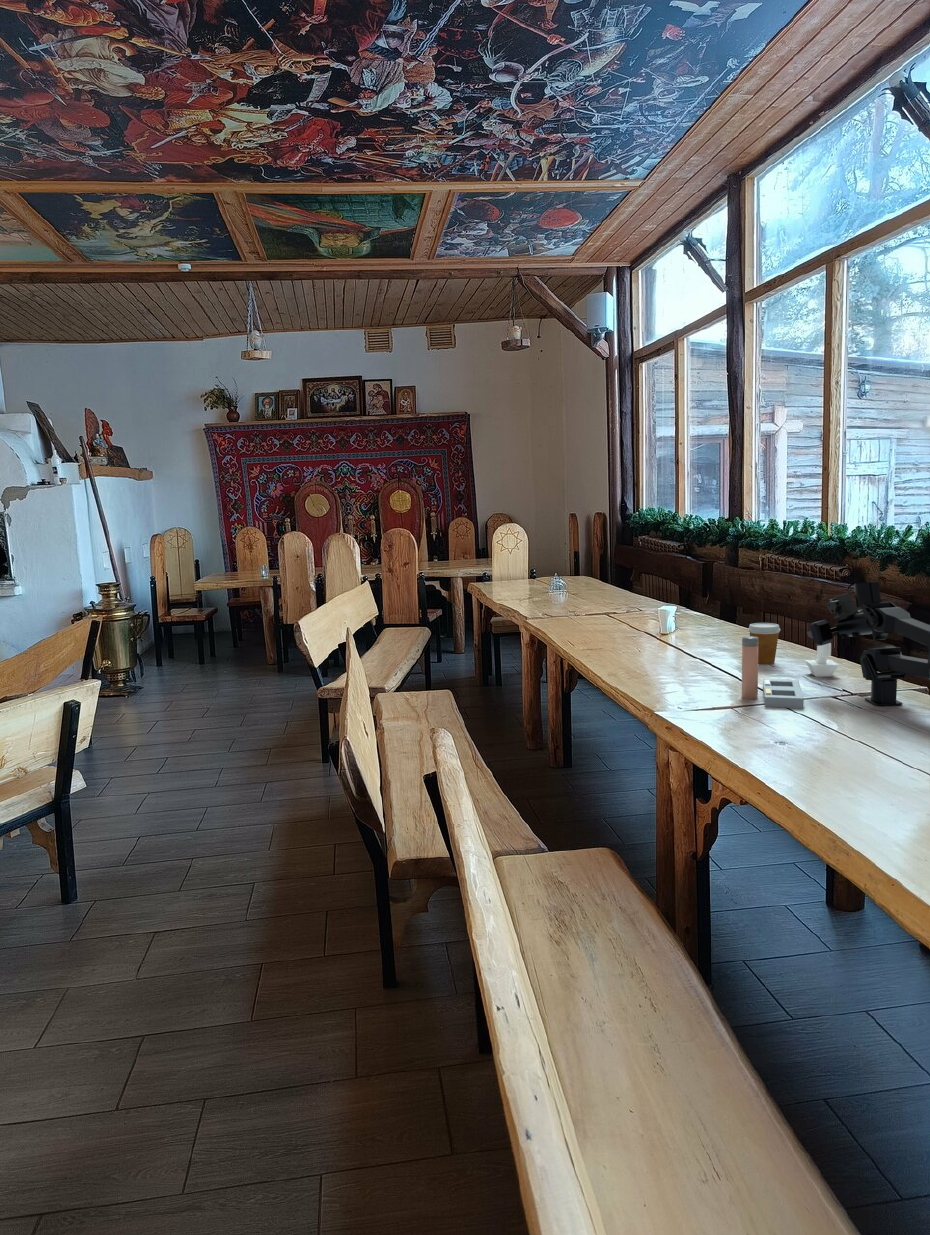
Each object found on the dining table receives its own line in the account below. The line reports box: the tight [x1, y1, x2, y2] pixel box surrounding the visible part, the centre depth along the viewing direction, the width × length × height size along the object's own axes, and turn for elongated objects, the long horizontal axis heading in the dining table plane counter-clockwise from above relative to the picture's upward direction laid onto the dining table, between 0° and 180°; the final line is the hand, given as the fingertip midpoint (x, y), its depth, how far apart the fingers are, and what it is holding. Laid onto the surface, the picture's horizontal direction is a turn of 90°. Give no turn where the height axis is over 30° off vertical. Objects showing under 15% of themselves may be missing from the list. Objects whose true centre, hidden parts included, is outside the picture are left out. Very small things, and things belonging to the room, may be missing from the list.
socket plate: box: [762, 678, 805, 709], centre depth 209 cm, size 20×9×3 cm, turn 161°
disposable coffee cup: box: [747, 622, 781, 666], centre depth 251 cm, size 10×10×12 cm
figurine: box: [804, 643, 840, 678], centre depth 231 cm, size 7×9×15 cm
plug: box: [741, 635, 759, 700], centre depth 210 cm, size 4×4×16 cm
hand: (821, 630), depth 221 cm, fingers open, 9 cm apart
